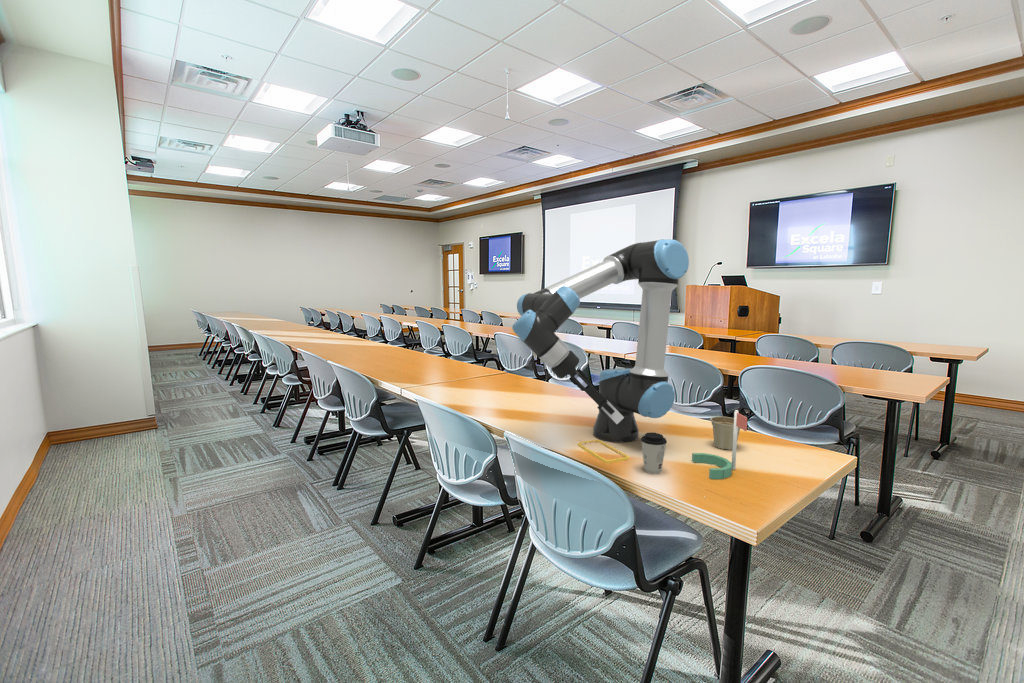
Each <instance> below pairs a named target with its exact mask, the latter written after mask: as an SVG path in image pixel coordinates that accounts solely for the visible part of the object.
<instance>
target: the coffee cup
mask: <svg viewBox="0 0 1024 683" xmlns="http://www.w3.org/2000/svg"><path fill="white" fill-rule="evenodd" d="M640 441H641V448H642V449H641V451H642V452H641V453H642V460H643V461H642V462H643V469H644V472H646V473H649V474H651V475H652V474H653V475H654V474H660V473H662V471H663V470H662V469H663V463H664V457H665V452H666V451H665V450H666V446H667V443H668V440H667V438H666V437H664V436H663V435H662V434H661V433H659V432H658V433H657V432H646V433H645V434H644V435H643V436H641V438H640Z"/></svg>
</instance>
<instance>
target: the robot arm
mask: <svg viewBox="0 0 1024 683" xmlns="http://www.w3.org/2000/svg"><path fill="white" fill-rule="evenodd" d="M689 265H690V259H689V254H688V251H687V249H686V248H685V247H684V245H683V243H682V242H680V241H678V240H676V239H658V240H652V241H643V242H636V243H633V244H631V245H630V244H629V245H628V246H625V247H624V248H621V249H619V250H617V251H616V252H614V253H611V254H609V255H607V256H605V257H604V258H603V260H602V262H599V263H597V264H595V265H593V266H590V267H588V268H586V269H584V270H581V271H580V272H577V273H575V274H573V275H571V276H569V277H566V278H564V279H562V280H560V281H557V282H555V283H553V284H551V285H549V286H547V287H544V288H543V289H540V290H538V291H536V292H533V293H531V292H529V293H525V294H522V295H521V296H520V297H519V298H518V300H517V302H516V310H517V312H518V314H519V315H520V316H519V317H518V319H517V320H515V321H514V323H513V324H512V331H513V333H514V334H515V335H516V336H517V337H518V339H520V341H521V342H523V343H524V345H526V346H527V347H528V348H529V349H530V350H531V351H532V352H533V353H534V354H535V355H536V356H537V357H538V358H539V359H540V361H539V362H540V364H542V365H543V364H545V365H546V367H547V368H550V369H551V372H552V373H553V374H554V375H555V376H557V378H558V379H564V378H565V377H567V376H568V375H569V376H570V377H569V378H568V379H569V381H570V382H571V383H572V384H573V385H575V386H576V387H578V389H579V390H580V391H581V392H585V394H586V395H588V396H589V398H591V399H592V400H593V402H595V404H596V405H597V409H598V414H597V417H596V420H595V423H594V425H593V430H592V431H593V434H592V435H593V436H594V437H595V438H597V439H598V440H600V441H605V442H612V443H630V442H634V441H636V440H638V439H639V435H640V434H639V432H640V431H639V427H638V424H637V421H636V417H635V414H637V415H640V416H642V417H645V418H651V419H659V418H661V417H664V416H666V415H667V414H668V412H669V411H670V410H671V408H672V407H673V406H674V405H673V404H674V403H675V398H676V391H675V389H674V387H673V385H672V384H671V383H669V374H668V373H667V371H666V370H665V362H666V352H667V351H666V350H667V344H668V342H667V341H668V331H669V321H670V312H671V303H672V294H673V291H674V290H675V289H676V288H677V287H678V286H679V279H682V278H683V277H684V276H685V274H686V273H687V272H688V269H689ZM632 280H638V282H637V284H638V285H639V287H640V288H641V290H642V296H641V304H640V314H639V324H638V332H637V334H638V335H637V346H636V352H635V353H636V354H635V355H636V356H635V365H634V366H633V367H632V368H631V367H630V368H625V367H623V368H621V367H620V368H609V369H603V370H602V371H601V372H600V373H599V381H598V390H597V389H596V388H595V387H594V386H593V385H592V381H591V380H590V379H589V378H588V377H587V376H586V373H584V372H583V370H582V369H581V368H579V369H576V368H577V367H578V365H579V363H580V357H578V356H577V355H576V353H574V352H573V350H570V348H569V346H568V345H567V344H566V343H565V342H564V341H563V340H562V339H561V338H560V337H559V336H558V335H556V332H557V331H558V330H559V329H560V327H561V326H562V325H563V324H564V323H565V322H566V321H567V320H568V319H569V318H570V317H571V316H572V315H574V312H576V310H577V309H578V307H579V306H580V305H581V299H582V298H585V297H587V296H588V295H591V294H593V293H595V292H598V291H600V290H601V289H604V288H606V287H608V286H609V285H611V284H614V285H618V284H621V283H623V282H626V281H632Z"/></svg>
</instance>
